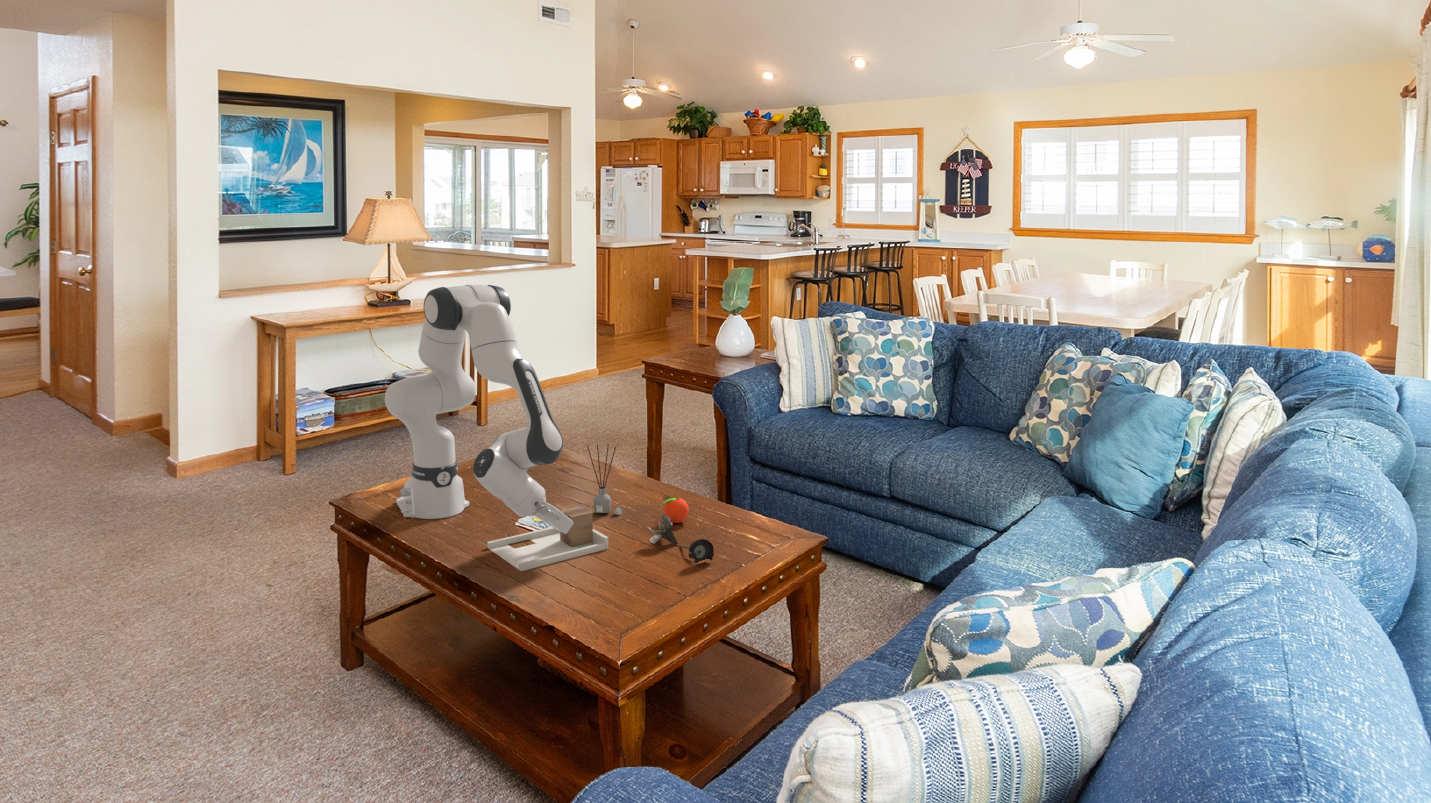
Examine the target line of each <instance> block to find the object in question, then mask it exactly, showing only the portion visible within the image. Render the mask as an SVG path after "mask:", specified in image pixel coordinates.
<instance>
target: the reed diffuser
mask: <svg viewBox="0 0 1431 803" xmlns="http://www.w3.org/2000/svg"><path fill="white" fill-rule="evenodd" d="M609 445H610V444H609V443H607V446H606V447H607V449H606V457H605V467H604V474H603V482H602V476H601V475H602V473H601V465H600V464H601V463H600V453H599V444H598V443H596V449H597V461H598V470H599V471H598V472H599V479H598V476H597V472H596V468H595V466H594V465H595V464H594V462H593V458H592V455H591V452H590V449H589V445H586V447H587V451H588V453H589V457H590V461H591V465H592V467H593V470H594V473H595V478H596V481H597V483H598V493H597V495H595V496H594V498H593V508H594V509H593V510H594V512H595V513H597V514H607V513H610V512H611V510H612V509H611V508H612V507H611V506H612V505H611V502H612V498H611V497H610V495H609V494H607V492H606V491H607V490H606V488H607V487H606V486H607V482H608V478H609V474H610V471H611V467H612V463H613V459H614V456H615V452H616V449H617V446H614V450H613V454H612V457H611V459H610V464H609V468H608V472H607V475H606V471H607V461H608V454H609ZM605 477H606V478H605ZM602 483H603V484H602ZM622 512H623V510H622V508H621V507H616V508H614V510H613V514H614V515H616V516H620V515H622V514H623V513H622Z"/></svg>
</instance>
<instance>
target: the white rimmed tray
mask: <svg viewBox="0 0 1431 803" xmlns="http://www.w3.org/2000/svg"><path fill="white" fill-rule="evenodd" d="M528 540H529V541H531V542H533V544H529V545H525V546H520V547H516V548H514V547H513V546H511V545H512V544H516V543H520V542H525V541H528ZM486 544H487V549H488V550H490V551H491V552H493V553H495V554H496V555H498V556H499V557H500V558H502V559H503V560H504V561H505V562H507V563H509V564H510V565H511V566H513V567H514V568H515V569H517V570H518V571H520V572H524V571H528V570H531V569H535V568H538V567H539V568H540V567H542V566H546V565H551V564H554V563H558V562H561V561H566V560H570V559H573V558H577V557H581V556H585V555H589V554H593V553H598V552H601V551H605V550H608V549H609V536H607V535H605V534H603V533H601V532H600V531H598V530H596V529H594V528H593V542H592V543H588V544H584V545H580V546H576V547H570V546H569V545H567V544H565V543H564V542H562V541H560V531H558V530H557V529H555V528H553V527H552V526H550V527H545V528H542V529H538V530H533V531H529V532H525V533H520V534H517V535H512V536H507V537H503V538H499V539H495V540H489V541H487V543H486Z"/></svg>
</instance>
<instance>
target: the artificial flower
mask: <svg viewBox="0 0 1431 803" xmlns="http://www.w3.org/2000/svg"><path fill="white" fill-rule="evenodd" d="M659 519H660V520H661V522H659V521H658V522H657V523H658V528H659V529H658V530H654V529H652V528H651V527H649V526H647V530H650V531H651V533H652V534H653V536H651V537H650V538H649V541H650V543H651V544H653V545H655V544H656V542H658V541H659V539H664V540H666V541H668V543H670V544H671V543H672V544H671V545H674V544H679V542H678V540H677V538H676V536H675V533H674V532H673V527H672V526H673V522H671V521H670V517H668V516H666V515H665V514H660V518H659ZM679 548H681V549H686V550H687V549H688V558H689V559H692V560H694V561H692V563H693V564H695V563H698V562H699V561H702V560H705V559H710V560H711V561H712V560H713V558H714V555H715V552H714V545H713V543H712V541H709V540H708V539H705V538H703V539H702V538H701V539H696V540H694V541H693V542H691V544H690V545H689V546H686V545H685V546H684V545H680V547H679Z"/></svg>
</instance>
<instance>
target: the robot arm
mask: <svg viewBox="0 0 1431 803" xmlns="http://www.w3.org/2000/svg"><path fill="white" fill-rule="evenodd" d="M511 305H512V304H511V299H510V297H509V293H508V292H507V291H506V290H505V289H504V288H503V287H502V286H501V287H500V286H497V285H491V284H488V285H481V284H465V285H455V286H448V287H445V286H441V287H436V288H434V289H431V290H429V291H428V292H427V294H426V296H425V297H424V300H423V314H424V317H425V318H424V320H423V321H424V322H423V326H422V330H421V336H420V341H419V347H418V350H417V351H418V352H417V353H418V356H419V359H420V361H421V362H422V364H423V365H424V366H426V367H427V368H429V369H431V372H430V373H429V374H426V375H418V376H413V377H406V378H403V379H400V380H397V381H395V382H391V384H389V385H388V387H387V388H386V391H385V393H384V402H385V403H384V404H385V407H386V409H387V410H388V411H387V412H388V413H390V414H391V415H392V416H393V417H395V418H396V419H398V420H399V421H400V422H402V423H403V425H404V426H405V427H406V429H407V430H408V433H409V435H410V439H411V443H412V451H413V462H412V467H411V476H410V477H409V479H407V480H406V482H405V483H404V484H403V488H401V489H399V490H400V497H399V498H396V503H395V504H396V505H397V507H398V506H399V507H398V508H400V509H399V511H400V510H401V511H400V513H401V514H402V513H403V515H402V516H403V518H405V517H412V518H411V519H416V518H417V519H422V520H423V519H425V520H426V519H427V520H435V519H444V518H450V517H453V516H456V515H458V514H460V513H462V512H463V511H464V509H465V508H467V507H469V506H470V501H469V500H467V499H466V498H465V490H464V481H463V479H462V477H460V476H459V475H458V474H459V473H458V472H459V471H458V470H459V468H458V467H459V466H458V462H457V461H458V460H456V444H455V436H454V434H453V433H452V431H451V430H449V429H448V428H446V427H444V426H442V425H439V424H438V422H437V415H439V414H445V413H450V412H456V411H458V410H461V409H463V408H465V407H466V408H467V407H468V406H470V405H472V404H473V402H474V400H475V399H476V395H477V387H476V384H475V381H474V379H473V378H472V377H471V376H470V374H468V373H467V372H465V371H464V369H463V366H462V359H463V351H464V345H465V342H466V338H467V337H466V336H467V334H468V339H469V344H470V345H469V346H470V349H471V356H472V360H473V364H474V366H475V369H476V371H477V373H478V374H479V375H480V376H481V377H483V378H484V379H486V380H488V381H489V382H492V383H496V384H502V385H505V386H506V385H507V386H510V388H512V389H514V390H515V392H516V393H517V395H518V398H519V401H520V404H521V406H522V408H523V411H524V412H523V413H524V414H525V417H526V421H527V426H525V427H521V428H519V429H518V428H517V429H515V430H511V431H507V432H504V433H501V434H499V435H498V436H497V437H496V438H495V440H494V441H493V443H492V445H491V446H490V447H488V448H484V449H482V450H481V451H480V452H479V453H478V454H477V456H476V457H475V458H474V460H473V464H472V473H473V476H474V477H475V479H476V480H477V481H478V482H479V484H480V485H481V486H482V487H483V488H484V489H485V490H486V491H487V492H489V493H490V494H491V495H492V496H494V497H495V498H498V499H499V500H501V501H502V502H503V503H504V505H505V506H507V508H509V509H510V510H512V512H514V513H515V514H517V516H519V517H521V518H526V517H535V518H537V519H538V520H539V521H541V522H543V523H545V524H546V525H547V526H550V527H553V528H555V529H557V530H558V531H560V532H562V533H564V534H566V533H567V532H568V531H569V530H570V529H571V527H572V526H573V524H574V523H573V521H572V520H571V519H570V518H568V517H567V516H566V515H565V514H563V513H562V512H561V511H560V510H561V509H559V508H557V507H556V506H555V505H553V504H551V503H548V502H547V498H546V489H545V488H544V487H543V486H542V485H541V484H539V483H538V481H536V480H535V479H533V478H532V477H531V476H530V475H529V474H528V470H529V468H532V467H536V466H543V465H544V466H545V465H551V464H553V463H555V462H556V461H557V460H558V459H559V457H561V456H560V455H561V453H562V450H563V446H564V440H563V436H562V434H561V432H560V430H559V429H560V428H558V426H557V424H556V423H555V420H554V419H553V417H552V413H551V411H550V408H549V406H548V402H547V399H546V397H545V394H544V391H543V389H542V386H541V383H540V380H539V377H538V375H537V373H536V371H535V369H534V367H533V366H532V364H531V363H530V362H529V361H528V360H526V359H524V357H523V356H522V354H521V352H520V349H519V346H518V342H517V339H516V334H515V331H514V327H513V323H511V322H512V321H511V319H510V317H509V316H510V313H511V310H512V309H511V308H512V306H511ZM414 517H415V518H414Z"/></svg>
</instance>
